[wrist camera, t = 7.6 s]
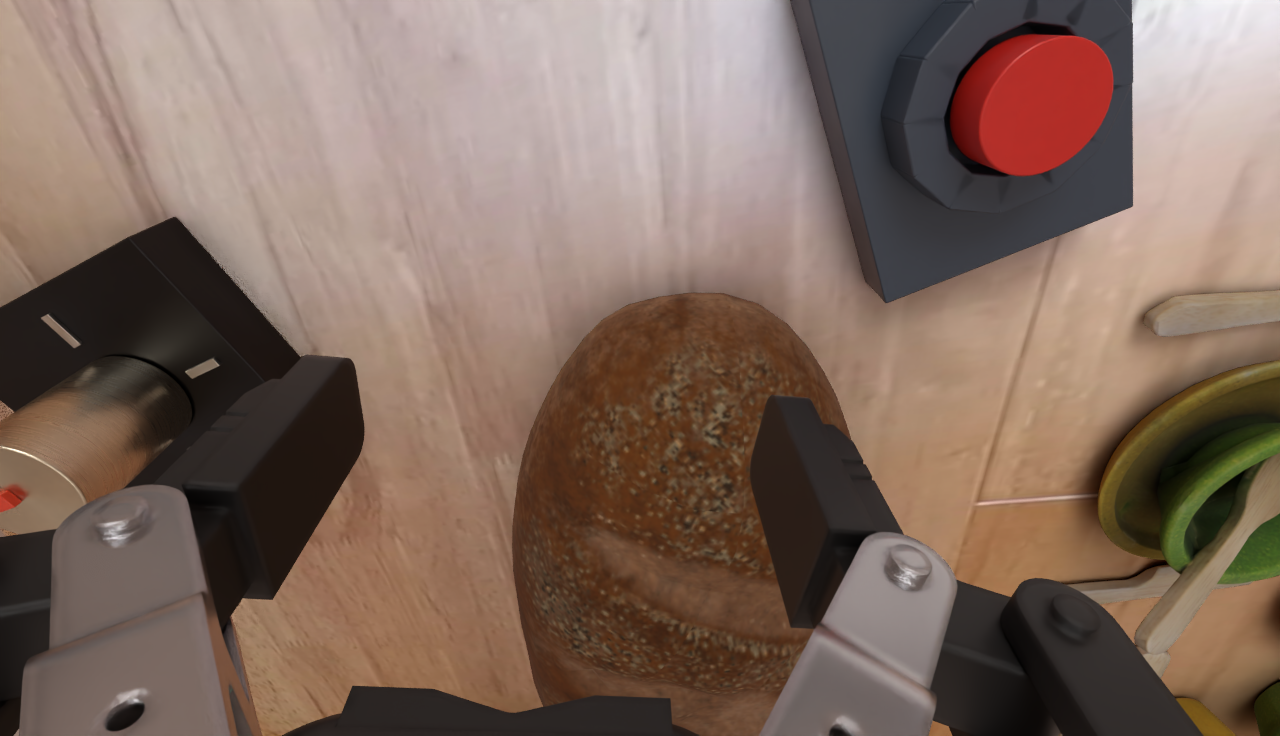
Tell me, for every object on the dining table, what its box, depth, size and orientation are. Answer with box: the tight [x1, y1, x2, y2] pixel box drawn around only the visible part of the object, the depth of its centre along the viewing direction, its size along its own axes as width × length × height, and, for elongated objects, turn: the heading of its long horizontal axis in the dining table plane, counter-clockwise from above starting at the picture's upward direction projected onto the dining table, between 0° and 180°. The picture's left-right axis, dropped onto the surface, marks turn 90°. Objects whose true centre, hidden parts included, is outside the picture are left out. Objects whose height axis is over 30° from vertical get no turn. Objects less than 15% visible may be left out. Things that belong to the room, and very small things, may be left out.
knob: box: [0, 356, 192, 534], centre depth 21 cm, size 4×4×6 cm
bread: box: [512, 293, 851, 736], centre depth 27 cm, size 16×29×11 cm, turn 2°
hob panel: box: [0, 217, 301, 489], centre depth 24 cm, size 10×10×3 cm
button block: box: [790, 0, 1133, 303], centre depth 19 cm, size 12×9×4 cm
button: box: [950, 34, 1113, 176], centre depth 17 cm, size 4×4×2 cm
